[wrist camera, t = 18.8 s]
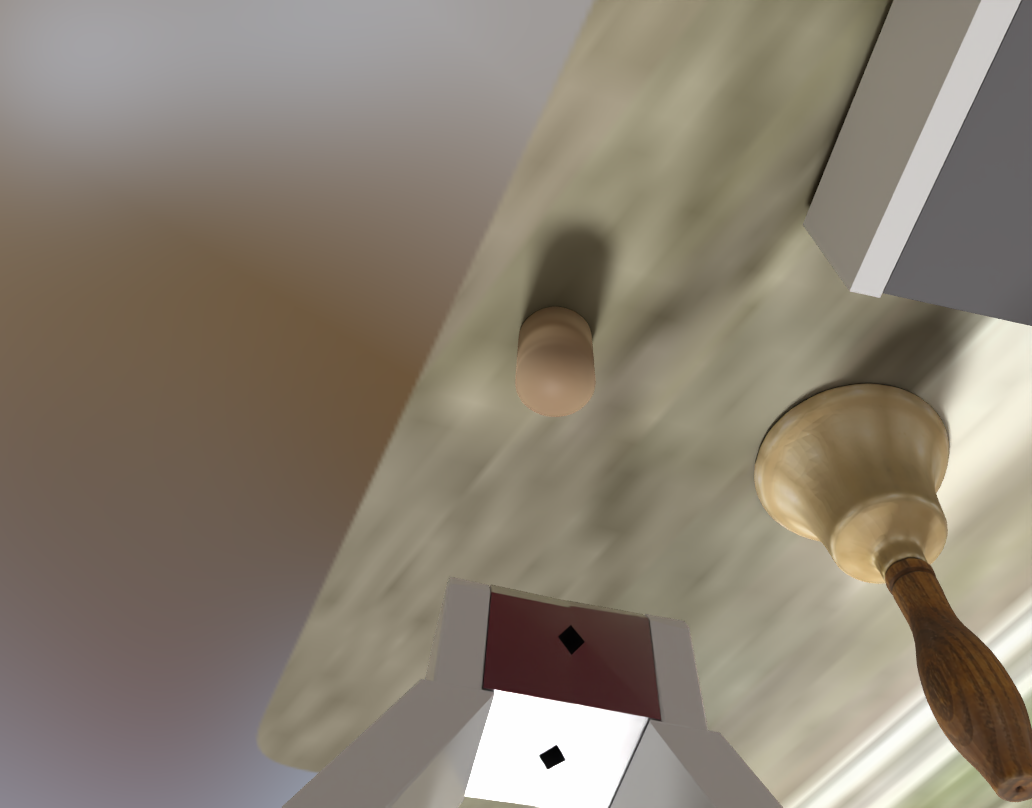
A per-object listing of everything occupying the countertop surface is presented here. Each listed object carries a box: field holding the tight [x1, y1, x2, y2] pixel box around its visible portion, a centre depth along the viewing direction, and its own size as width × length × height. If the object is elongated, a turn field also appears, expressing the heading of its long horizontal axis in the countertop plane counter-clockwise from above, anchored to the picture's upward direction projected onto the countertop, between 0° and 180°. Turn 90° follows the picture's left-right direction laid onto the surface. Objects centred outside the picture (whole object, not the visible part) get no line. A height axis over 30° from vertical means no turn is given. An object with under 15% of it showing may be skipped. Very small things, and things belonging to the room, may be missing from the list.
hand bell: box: [754, 384, 1032, 802], centre depth 32 cm, size 8×8×16 cm
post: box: [515, 307, 595, 417], centre depth 34 cm, size 3×3×4 cm
